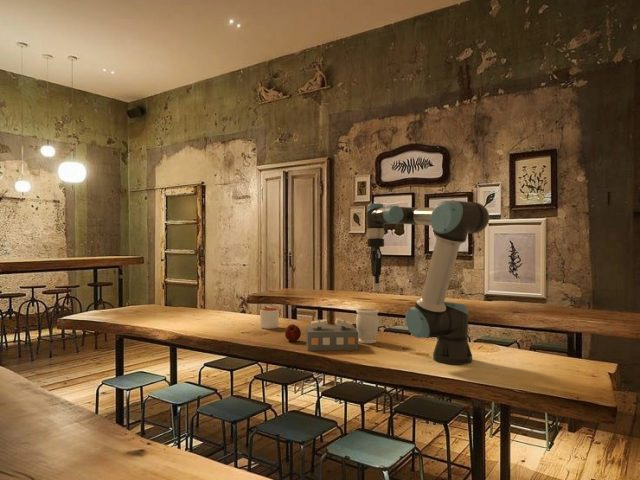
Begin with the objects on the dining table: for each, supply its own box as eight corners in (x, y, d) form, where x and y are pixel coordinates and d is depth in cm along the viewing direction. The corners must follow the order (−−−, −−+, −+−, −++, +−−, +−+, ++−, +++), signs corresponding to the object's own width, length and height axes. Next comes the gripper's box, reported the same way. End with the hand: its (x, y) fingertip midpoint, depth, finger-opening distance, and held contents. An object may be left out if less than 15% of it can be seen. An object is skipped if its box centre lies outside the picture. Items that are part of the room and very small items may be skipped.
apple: (282, 342, 222) (282, 325, 222) (289, 339, 229) (289, 322, 229) (296, 343, 219) (296, 326, 219) (303, 340, 226) (303, 323, 226)
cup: (282, 327, 261) (282, 309, 261) (270, 330, 252) (270, 311, 252) (267, 325, 266) (268, 307, 266) (256, 328, 257) (256, 309, 257)
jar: (382, 341, 223) (382, 310, 223) (369, 345, 216) (369, 312, 216) (365, 338, 230) (365, 307, 230) (351, 341, 223) (351, 310, 223)
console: (358, 350, 206) (358, 329, 206) (307, 350, 204) (307, 329, 204) (353, 343, 220) (353, 323, 220) (306, 343, 219) (306, 323, 219)
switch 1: (327, 325, 210) (326, 319, 210) (312, 328, 209) (311, 322, 209) (326, 323, 215) (325, 318, 215) (311, 325, 214) (310, 320, 214)
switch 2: (351, 328, 211) (352, 323, 211) (336, 324, 210) (337, 318, 210) (349, 326, 216) (351, 321, 216) (334, 322, 215) (336, 317, 215)
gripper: (387, 237, 207) (388, 291, 206) (380, 238, 220) (381, 289, 219) (370, 237, 206) (371, 291, 205) (364, 238, 219) (365, 289, 218)
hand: (376, 290), depth 212 cm, fingers closed
